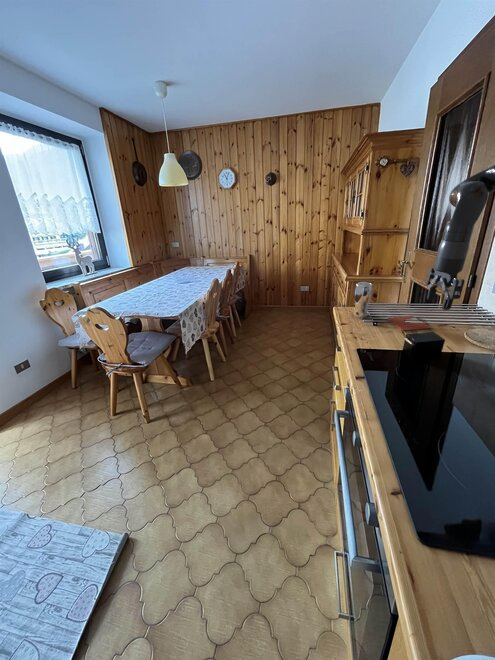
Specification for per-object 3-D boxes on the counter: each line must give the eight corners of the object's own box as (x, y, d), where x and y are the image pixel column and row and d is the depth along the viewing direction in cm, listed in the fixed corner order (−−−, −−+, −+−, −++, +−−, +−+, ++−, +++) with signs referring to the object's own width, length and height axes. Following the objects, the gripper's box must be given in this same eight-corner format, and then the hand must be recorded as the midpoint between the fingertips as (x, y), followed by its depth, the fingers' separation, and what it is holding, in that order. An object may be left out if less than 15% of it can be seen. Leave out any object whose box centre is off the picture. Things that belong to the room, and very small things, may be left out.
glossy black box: (429, 348, 103) (433, 331, 100) (440, 357, 98) (445, 339, 94) (400, 351, 103) (403, 334, 99) (409, 360, 97) (413, 342, 94)
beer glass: (365, 311, 134) (370, 281, 127) (370, 318, 127) (374, 286, 121) (350, 312, 134) (354, 281, 127) (354, 318, 128) (358, 287, 121)
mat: (414, 316, 126) (414, 315, 126) (431, 328, 116) (431, 327, 115) (387, 318, 126) (387, 317, 126) (402, 331, 115) (402, 330, 115)
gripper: (481, 260, 79) (463, 312, 87) (449, 249, 92) (436, 295, 100) (454, 261, 80) (439, 313, 87) (425, 250, 92) (414, 297, 100)
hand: (437, 304), depth 93 cm, fingers open, 8 cm apart
